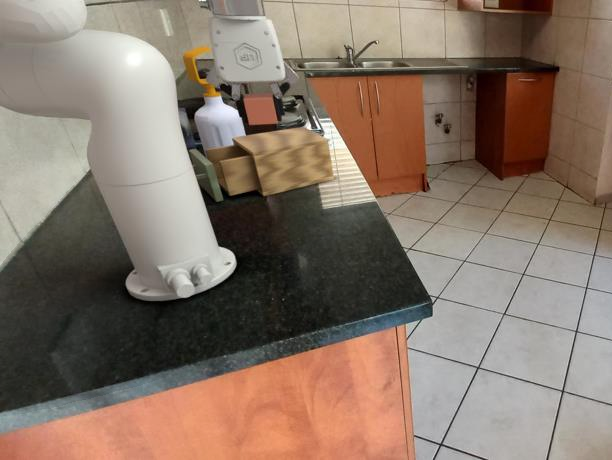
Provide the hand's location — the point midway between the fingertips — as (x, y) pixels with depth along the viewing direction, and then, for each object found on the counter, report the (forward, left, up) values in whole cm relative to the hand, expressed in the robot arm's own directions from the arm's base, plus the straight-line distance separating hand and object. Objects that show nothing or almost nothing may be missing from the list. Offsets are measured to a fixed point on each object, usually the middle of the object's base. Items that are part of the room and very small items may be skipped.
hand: (263, 119), depth 78 cm
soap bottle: (+31, 0, -15) cm, 34 cm away
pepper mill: (+43, -8, -15) cm, 46 cm away
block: (0, 0, 0) cm, 0 cm away
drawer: (+8, +6, -14) cm, 17 cm away
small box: (+41, +10, -15) cm, 45 cm away
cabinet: (+8, -5, -15) cm, 18 cm away
